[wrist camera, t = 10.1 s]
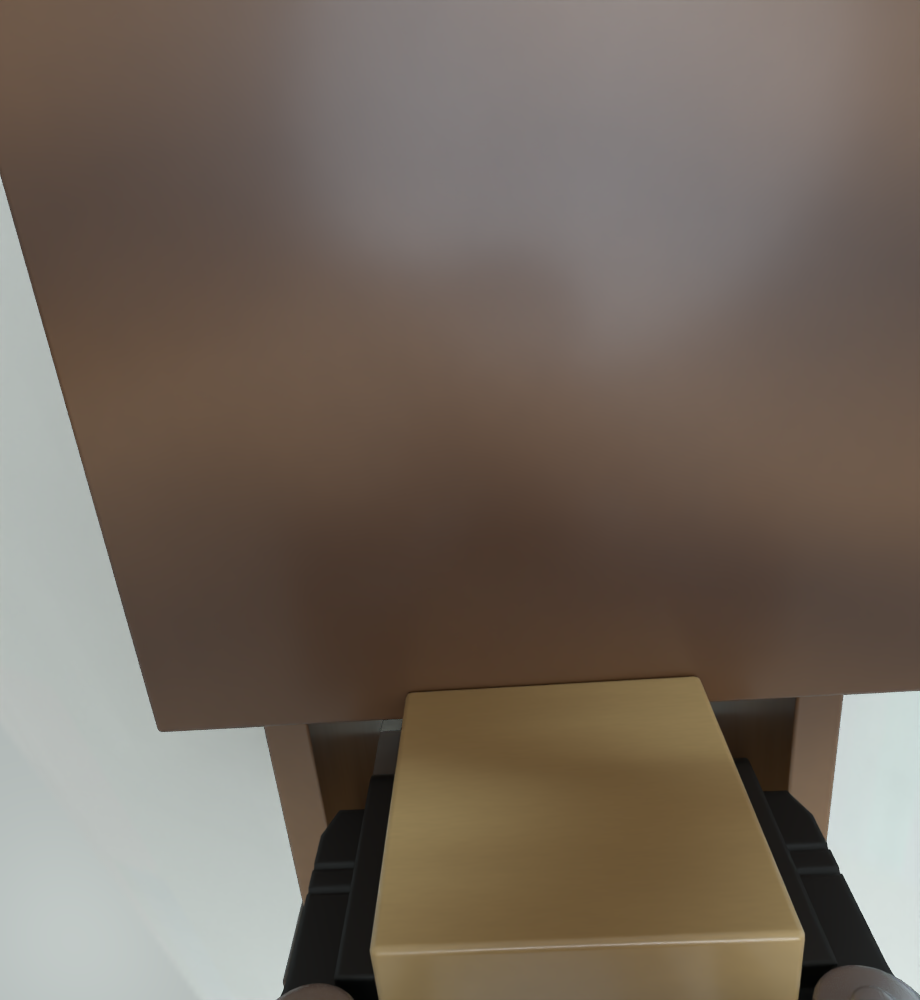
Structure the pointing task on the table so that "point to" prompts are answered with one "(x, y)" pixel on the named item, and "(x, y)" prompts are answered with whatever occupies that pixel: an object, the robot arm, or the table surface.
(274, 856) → the table surface
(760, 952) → the maple cube
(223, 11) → the cabinet
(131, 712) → the table surface
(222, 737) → the table surface
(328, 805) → the drawer
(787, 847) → the robot arm
